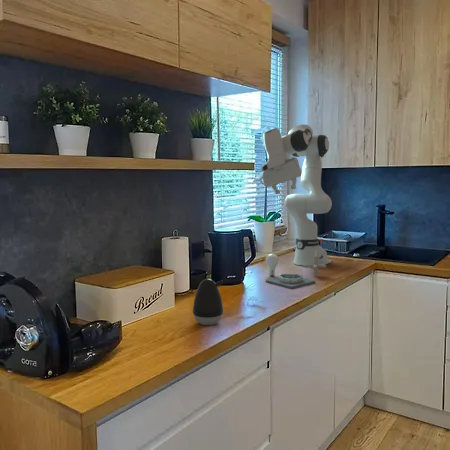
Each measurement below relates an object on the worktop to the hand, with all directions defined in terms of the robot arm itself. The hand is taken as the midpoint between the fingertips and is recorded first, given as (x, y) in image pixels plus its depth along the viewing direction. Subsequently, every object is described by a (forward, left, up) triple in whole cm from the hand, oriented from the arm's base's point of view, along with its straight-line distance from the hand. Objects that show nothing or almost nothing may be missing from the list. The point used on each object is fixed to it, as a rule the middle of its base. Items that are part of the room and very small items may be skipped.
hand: (285, 191), depth 210 cm
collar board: (+3, +6, -42) cm, 42 cm away
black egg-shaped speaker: (+66, +27, -42) cm, 83 cm away
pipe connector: (-16, +5, -42) cm, 45 cm away
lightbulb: (0, -9, -42) cm, 43 cm away
